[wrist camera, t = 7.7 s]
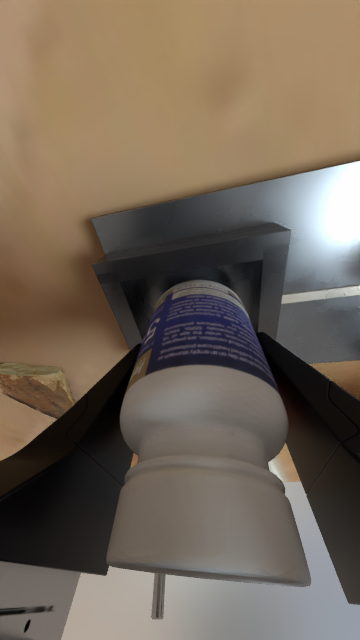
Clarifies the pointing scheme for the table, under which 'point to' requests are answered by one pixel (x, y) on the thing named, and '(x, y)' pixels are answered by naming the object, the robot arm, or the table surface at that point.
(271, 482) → the pill bottle
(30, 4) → the table surface
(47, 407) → the shard
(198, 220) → the metal plate with knob
